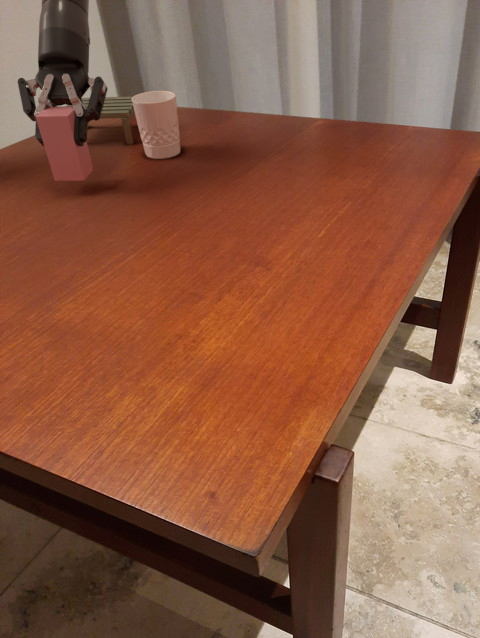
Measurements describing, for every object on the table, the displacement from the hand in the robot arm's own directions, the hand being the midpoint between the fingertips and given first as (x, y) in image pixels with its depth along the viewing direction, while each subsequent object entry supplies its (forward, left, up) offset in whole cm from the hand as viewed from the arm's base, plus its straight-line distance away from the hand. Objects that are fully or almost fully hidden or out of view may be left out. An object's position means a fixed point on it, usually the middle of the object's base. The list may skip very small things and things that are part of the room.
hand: (61, 143), depth 87 cm
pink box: (0, +2, -6) cm, 6 cm away
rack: (-3, +30, -8) cm, 31 cm away
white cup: (+11, +19, -9) cm, 23 cm away
